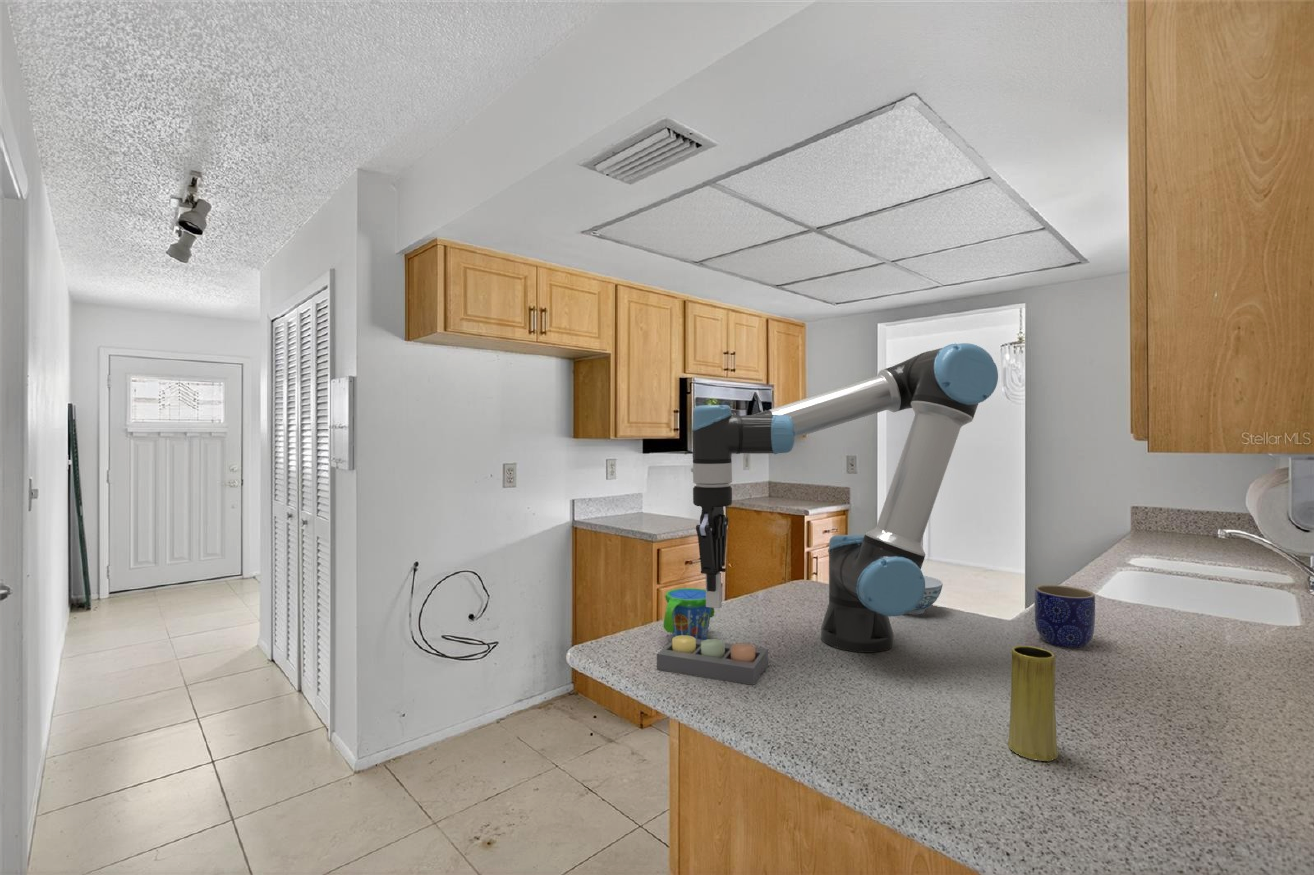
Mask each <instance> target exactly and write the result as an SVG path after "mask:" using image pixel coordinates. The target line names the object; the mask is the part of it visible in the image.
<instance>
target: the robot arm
mask: <svg viewBox="0 0 1314 875" xmlns="http://www.w3.org/2000/svg"><path fill="white" fill-rule="evenodd" d="M994 361H995V360H994V358H993V357H992V355H991V354H990V352H988V351H987V350H986V349H984V348H982V347H981V346H979V345H977V344H974V343H968V342H967V343H966V342H965V343H963V342H962V343H951V344H947V345H945V346H943V347H941V348H936V349H931V350H929V351H928V350H927V351H925V352H921V353H919V354H916V355H913V356H912V357H910V358H909V359H906V360H904V361H902V362H900V363H897V364H895V365H892V366H890V367H887V368H884V369H881V370H879V371H878V373H877V374H876V376H874V377H873V376H872V377H869V378H867V379H864V380H861V381H857V382H854V383H851V384H848V385H844V386H840V387H838V388H835V389H832V390H829V391H825V392H821V393H819V394H818V393H817V394H815V395H812V396H809V397H806V398H803V399H798V400H796V401H792V402H790V403H787V404H782V405H780V406H776V407H773V408H771V409H768V410H765V411H760V412H757V413H755V414H749V415H748V414H745V415H739V414H738V415H736V414H733V413H732V409H731V407H730V405H727V404H711V405H709V404H708V405H707V404H706V405H705V404H704V405H703V404H702V405H697V406H696V407H694V409H692V421H691V422H692V427H691V435H692V436H691V437H692V438H691V442H692V444H691V445H692V467H691V468H690V472H692V480H693V482H692V483H693V484H695V486H694V487H693V488H692V503H693V505H694V506H695V507H700V508H701V514H700V516H699V524H696V526H695V532H696V535H697V540H698V550H699V551H698V552H699V561H700V573H701V574H703V575H705V590H706V607H712V608H714V609H720V608H721V607H722V606H723V605H722V604H723V603H722V600H723V598H722V594H723V593H722V573H725V572H727V571H726V570H727V568H726V567H725V566H726V552H727V551H726V550H727V548H726V547H727V537H728V536H727V532H728V530H727V529H728V523H729V517H728V516H726V515H725V511H724V510H725V509H724V507H728V506H731V505H732V504H733V487H732V486H731V485H730V484H731V483H732V482H733V464H732V463H733V462H732V461H733V460H732V457H733V456H732V455H734V454H735V455H740V454H743V455H744V454H749V455H750V454H752V455H753V454H756V455H757V454H758V455H759V454H760V455H761V454H765V455H766V454H768V455H769V454H773V455H778V454H787V453H790V452H791V451H792V450H793V448H794V446H795V445H794V444H795V439H796V438H800V437H803V436H806V435H809V434H813V433H817V432H819V431H822V430H823V431H824V430H825V429H826V430H827V429H830V428H833V427H836V426H838V425H843V424H845V423H849V422H851V421H856V420H858V419H861V418H865V417H868V416H872V415H875V414H878V413H880V412H884V411H890V412H891V413H897V412H901V411H903V410H908V409H912V410H913V411H914V417H913V421H912V422H911V426H910V428H909V431H908V434H907V437H906V439H905V444H904V446H903V449H902V451H901V454H900V458H899V460H898V463H897V466H896V469H895V473H894V474H893V477H892V481H891V484H890V485H889V489H888V492H887V495H886V498H885V501H884V503H883V507H882V510H881V512H880V515H879V517H878V521H877V524H876V526H875V528H873V529H871V530H869V531H867V532H865V534H836V535H833V536H832V537H830V539H829V544H828V550H827V551H828V605H827V608H826V612H825V614H824V617H823V620H822V623H821V626H820V639H821V641H822V642H823V643H825V644H827V645H829V646H831V647H833V648H835V649H836V648H838V649H840V650H844V651H850V652H858V653H876V652H877V653H878V652H884V651H888V650H890V649H891V648H893V647H894V645H895V638H894V637H895V636H894V635H895V634H894V630H893V627H892V624H891V621H890V619H889V617H898V616H899V617H900V616H902V615H906V613H907V612H910V611H911V610H913V609H914V608H915V607H916V606H917V605H918V604H919V603H920V601H921V600H922V597H923V595H924V592H925V579H924V577H923V576H924V574H923V571H922V566H923V563H924V561H925V558H926V553H925V551H924V549H923V546H922V541H923V538H924V535H925V531H926V530H927V526H928V522H929V520H930V517H931V514H932V511H933V509H934V506H935V503H936V500H937V496H938V494H939V492H940V489H941V486H942V482H943V480H944V477H945V474H946V471H947V468H948V465H949V463H950V461H951V460H950V459H951V456H952V454H953V451H954V449H955V445H956V442H957V440H958V437H959V434H960V432H961V428H963V426H965V425H967V424H969V423H972V422H973V420H974V418H975V415H976V411H977V409H978V406H979V404H980V403H983V402H984V401H986V400H987V399H988V398H990V397H991V396H992V394H993V393H994V392H995V391H996V388H997V385H998V382H999V370H998V367H997V364H996V363H995V362H994Z"/></svg>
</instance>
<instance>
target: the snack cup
mask: <svg viewBox="0 0 1314 875" xmlns="http://www.w3.org/2000/svg"><path fill="white" fill-rule="evenodd" d="M664 597H665V601H666V602H667V605H666V608H665V613H664V618H663V628H664V631H666V632H667V633H670V634H671V635H672V638H673V637H675V636H679V635H688V636H692V637H694V638H695V639H700V640H707V639H708V633H709V628H710V627H709V626H710V620H711V618H713V617H714V616H715V608H712V607H706V589H702V588H696V587H695V588H694V587H689V588H688V587H686V588H685V587H684V588H675V589H671V590H668V591H667V592H666V593H665V595H664Z"/></svg>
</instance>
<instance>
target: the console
mask: <svg viewBox="0 0 1314 875" xmlns="http://www.w3.org/2000/svg"><path fill="white" fill-rule="evenodd" d="M702 641H703V640H700V639H696V650H695V651H694V652H693V653H685V652H678V651H672V641H671V642H670V643H668V644H667V645H665V646H664V647H662V649H661V650H660V651H659V652H656V670H658V671H663V672H664V671H665V672H671V673H676V674H681V675H682V674H683V675H687V676H694V677H701V678H707V679H714V680H720V681H727V682H731V683H737V684H744V685H752V686H754V685H755V684H756V683H757V681H758V679H759V678H760V677H761V675H762V673H763V672H764V670H765V669H766V668H767V667H768V665H769V648H764V647H756V646H755V661H754V662H753V663H752V662H746V661H739V660H732V659H731V645H733V644H734V643H730V642H729V643H728V642H724V643H725V655H724V656H723V657H722V658H719V657H712V656H705V655H701V642H702Z"/></svg>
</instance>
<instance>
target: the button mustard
mask: <svg viewBox="0 0 1314 875" xmlns="http://www.w3.org/2000/svg"><path fill="white" fill-rule="evenodd" d="M671 642H672V651H678V652H685V653H693V652H694V651H695V650H696V639H695V638H694V637H692V636H688V635H679V636H675V637H673V636H672V638H671Z"/></svg>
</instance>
